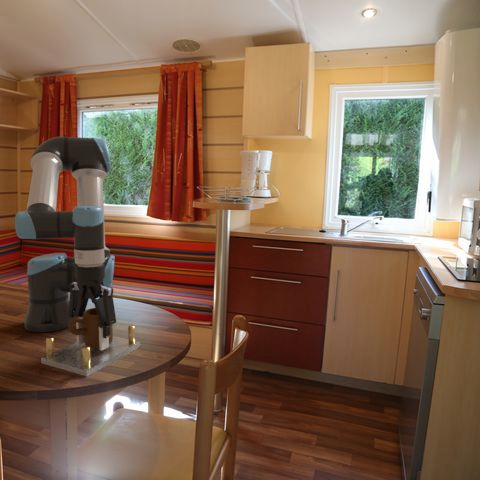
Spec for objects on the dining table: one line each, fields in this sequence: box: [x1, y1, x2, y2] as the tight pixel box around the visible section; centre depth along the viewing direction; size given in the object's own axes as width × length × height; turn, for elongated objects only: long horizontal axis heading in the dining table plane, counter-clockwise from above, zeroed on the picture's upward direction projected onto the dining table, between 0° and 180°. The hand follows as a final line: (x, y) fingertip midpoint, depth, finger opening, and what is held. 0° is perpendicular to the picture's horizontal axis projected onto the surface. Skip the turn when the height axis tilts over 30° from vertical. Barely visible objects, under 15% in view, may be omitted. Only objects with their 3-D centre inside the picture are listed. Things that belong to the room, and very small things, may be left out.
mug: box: [67, 307, 114, 348], centre depth 109 cm, size 12×8×9 cm, turn 138°
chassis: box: [40, 324, 141, 377], centre depth 109 cm, size 16×20×6 cm
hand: (92, 345), depth 109 cm, fingers closed on mug, 7 cm apart
